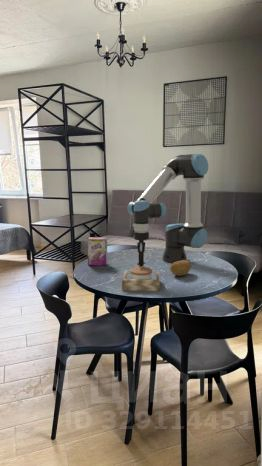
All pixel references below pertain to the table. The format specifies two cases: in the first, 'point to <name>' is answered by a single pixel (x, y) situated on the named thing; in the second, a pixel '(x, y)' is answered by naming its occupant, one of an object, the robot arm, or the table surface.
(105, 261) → the candy bar box
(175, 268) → the potato
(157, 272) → the bay
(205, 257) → the table surface
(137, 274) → the lidded jar
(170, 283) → the table surface
